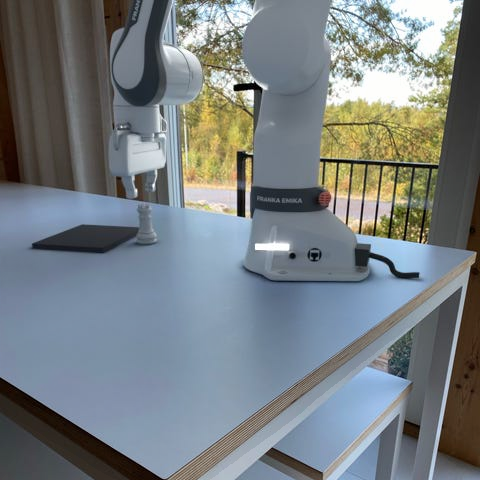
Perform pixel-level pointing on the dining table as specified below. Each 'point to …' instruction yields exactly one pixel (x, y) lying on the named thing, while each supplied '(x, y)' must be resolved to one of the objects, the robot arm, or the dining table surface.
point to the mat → (88, 238)
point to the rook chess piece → (145, 226)
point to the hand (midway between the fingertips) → (141, 194)
